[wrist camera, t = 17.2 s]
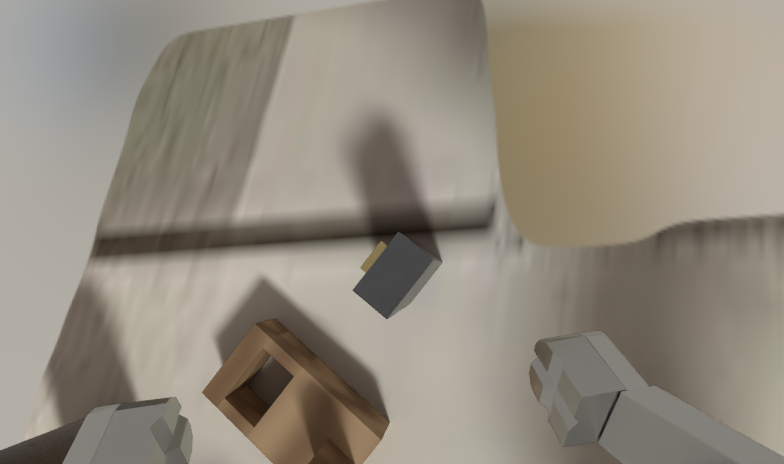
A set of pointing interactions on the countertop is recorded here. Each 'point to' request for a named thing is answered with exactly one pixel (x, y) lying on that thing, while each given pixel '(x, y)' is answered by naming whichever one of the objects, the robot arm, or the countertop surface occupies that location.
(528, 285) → the countertop surface
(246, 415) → the hand plane
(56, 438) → the pillar candle
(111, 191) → the countertop surface
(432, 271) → the lever cap
